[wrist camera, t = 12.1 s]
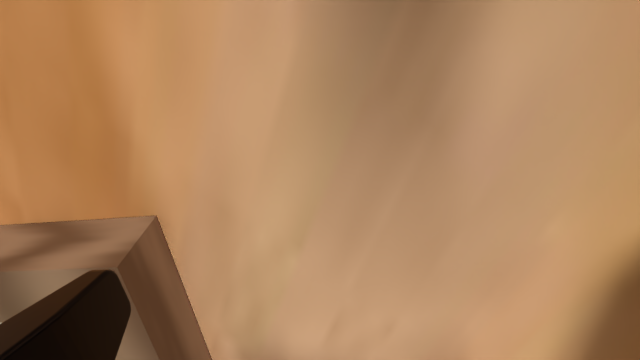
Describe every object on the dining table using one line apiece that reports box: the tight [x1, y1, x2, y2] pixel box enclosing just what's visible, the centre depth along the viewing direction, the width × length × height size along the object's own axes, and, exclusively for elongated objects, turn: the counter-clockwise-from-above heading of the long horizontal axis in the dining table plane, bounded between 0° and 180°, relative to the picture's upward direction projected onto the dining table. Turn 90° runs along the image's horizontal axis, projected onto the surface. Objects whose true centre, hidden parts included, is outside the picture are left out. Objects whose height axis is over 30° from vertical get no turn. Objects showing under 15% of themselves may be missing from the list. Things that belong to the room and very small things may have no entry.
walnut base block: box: [0, 216, 212, 360], centre depth 27 cm, size 12×12×4 cm
